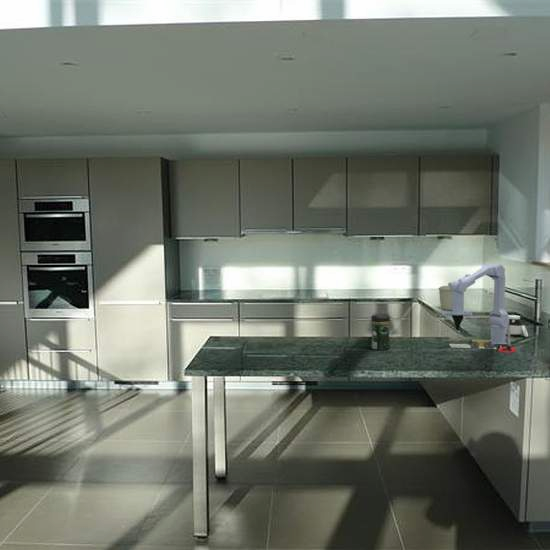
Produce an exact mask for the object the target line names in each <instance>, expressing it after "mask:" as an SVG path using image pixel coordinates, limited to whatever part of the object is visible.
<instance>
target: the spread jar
mask: <svg viewBox="0 0 550 550" xmlns="http://www.w3.org/2000/svg"><path fill="white" fill-rule="evenodd" d="M508 318H509V325H508V326H510V336H514V337H513V338H516V337H515V336H519V337H521V336H522V333H523V335H524V337H525V338H528V337H529V334H528V330H527V327H526V326H525V324H524V325H523V324H522V321H521V316H520V315H516V314H514V315H512V314H508ZM508 326H507V328H506V335H505V336H506V337H508Z"/></svg>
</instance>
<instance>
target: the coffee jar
mask: <svg viewBox="0 0 550 550" xmlns="http://www.w3.org/2000/svg"><path fill="white" fill-rule="evenodd" d="M370 320H371V321H370V323H371V327H372V331H371V344H370V348H371V349H372V350H374V351H375V350H377V351H385V350H389V349H390V348H391V342H390V329H389V328H390V323H391V319H390V315H389V314H388V313H387V314H386V313H378V314H372V315H371V319H370Z"/></svg>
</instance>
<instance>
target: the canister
mask: <svg viewBox="0 0 550 550" xmlns="http://www.w3.org/2000/svg"><path fill="white" fill-rule="evenodd" d="M452 283H453V281H452V282H448V284H447V285H441V286H440V287H438V291H439V302H440V308H441V309H442V310H443V309H445V310H444V311H449V310H452V291H451V289H450V286H451V284H452Z"/></svg>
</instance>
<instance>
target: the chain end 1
mask: <svg viewBox="0 0 550 550" xmlns="http://www.w3.org/2000/svg"><path fill="white" fill-rule="evenodd" d="M468 344H469V345H471V348H470V349H480V348H479V343H472V340H468Z"/></svg>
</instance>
